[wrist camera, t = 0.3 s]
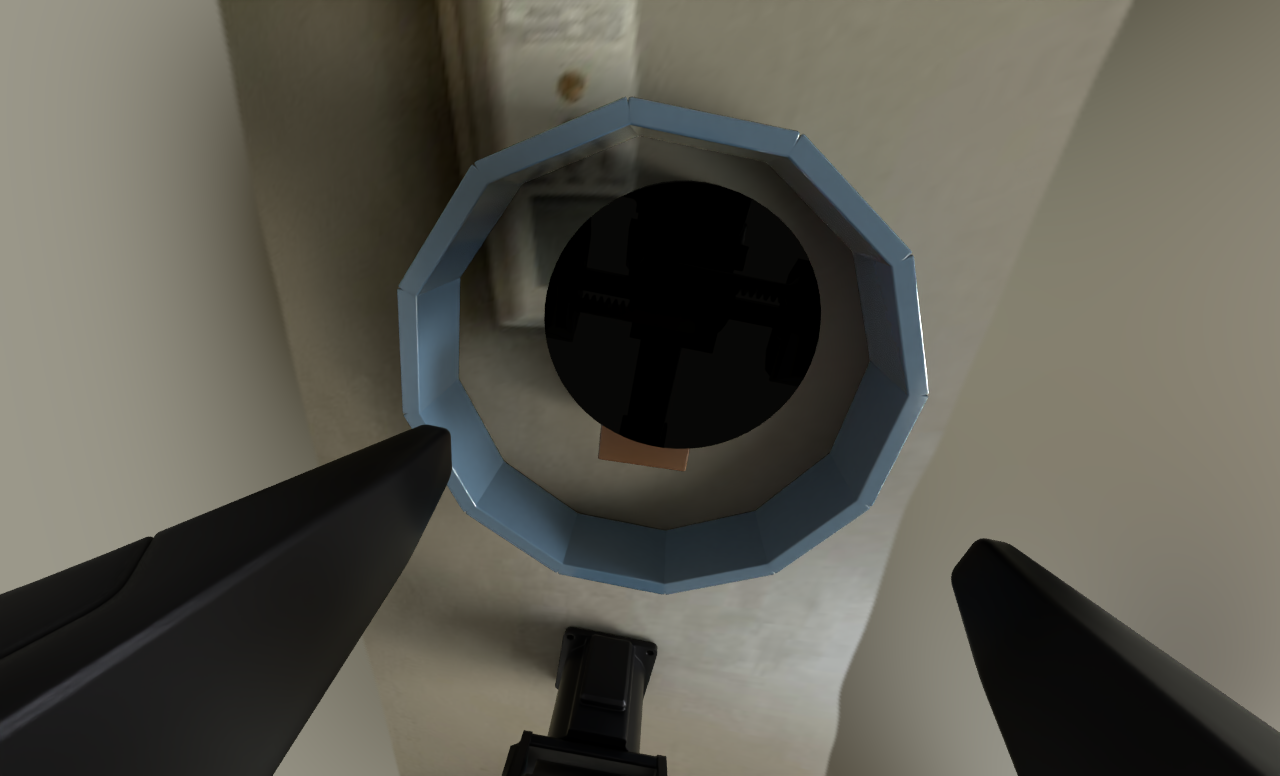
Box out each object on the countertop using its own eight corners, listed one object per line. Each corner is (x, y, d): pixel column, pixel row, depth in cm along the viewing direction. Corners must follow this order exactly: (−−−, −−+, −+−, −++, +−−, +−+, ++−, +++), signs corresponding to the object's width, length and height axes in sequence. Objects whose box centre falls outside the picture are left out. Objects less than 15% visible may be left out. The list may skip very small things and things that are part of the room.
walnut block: (684, 428, 24) (685, 472, 20) (609, 417, 24) (597, 459, 20) (696, 358, 22) (701, 392, 19) (617, 347, 22) (605, 379, 19)
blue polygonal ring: (794, 565, 27) (812, 624, 24) (444, 496, 27) (408, 545, 24) (968, 181, 18) (1040, 180, 15) (444, 72, 18) (385, 45, 14)
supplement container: (654, 359, 22) (637, 487, 13) (575, 238, 20) (487, 287, 11) (779, 287, 21) (866, 377, 11) (707, 147, 18) (739, 108, 9)
